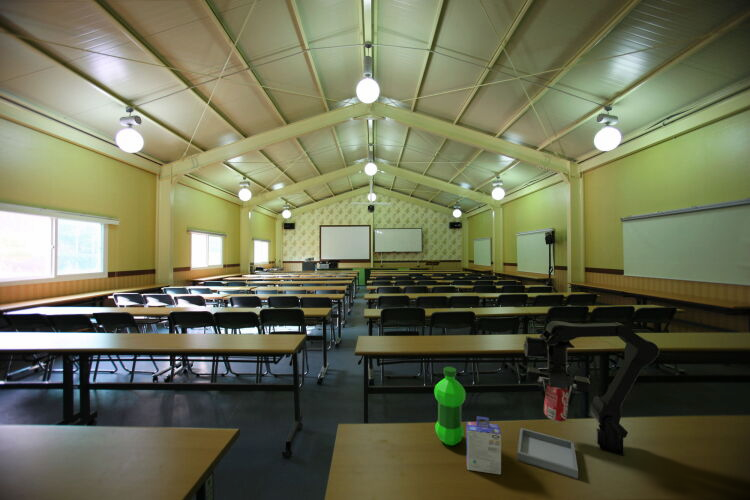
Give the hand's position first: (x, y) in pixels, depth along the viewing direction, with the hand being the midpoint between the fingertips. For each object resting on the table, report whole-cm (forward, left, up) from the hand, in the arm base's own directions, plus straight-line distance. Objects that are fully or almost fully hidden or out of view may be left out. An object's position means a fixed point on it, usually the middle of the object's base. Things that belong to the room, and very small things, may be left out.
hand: (556, 403), depth 106 cm
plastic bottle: (+33, +19, -13) cm, 40 cm away
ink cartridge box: (+20, +26, -13) cm, 35 cm away
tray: (+3, +10, -13) cm, 17 cm away
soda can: (+1, 0, -5) cm, 5 cm away
